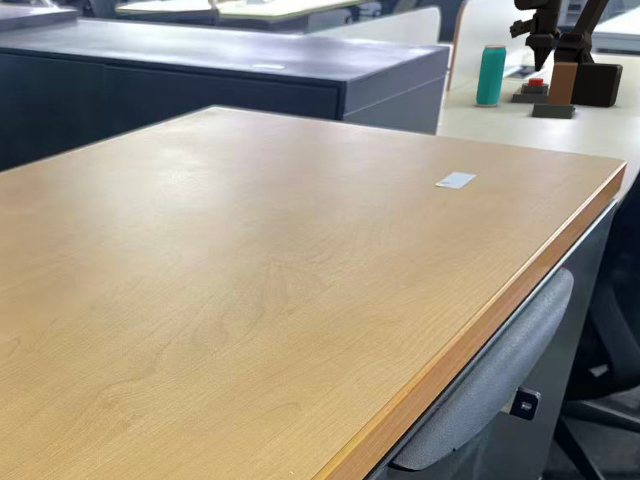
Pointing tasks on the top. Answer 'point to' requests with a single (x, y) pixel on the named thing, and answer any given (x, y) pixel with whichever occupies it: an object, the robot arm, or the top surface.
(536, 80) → the power button
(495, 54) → the beverage can
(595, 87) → the electronic device
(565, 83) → the brown box
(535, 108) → the block
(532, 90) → the power panel
